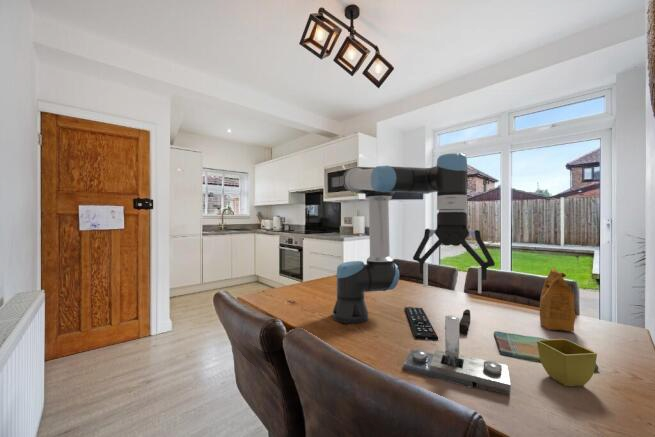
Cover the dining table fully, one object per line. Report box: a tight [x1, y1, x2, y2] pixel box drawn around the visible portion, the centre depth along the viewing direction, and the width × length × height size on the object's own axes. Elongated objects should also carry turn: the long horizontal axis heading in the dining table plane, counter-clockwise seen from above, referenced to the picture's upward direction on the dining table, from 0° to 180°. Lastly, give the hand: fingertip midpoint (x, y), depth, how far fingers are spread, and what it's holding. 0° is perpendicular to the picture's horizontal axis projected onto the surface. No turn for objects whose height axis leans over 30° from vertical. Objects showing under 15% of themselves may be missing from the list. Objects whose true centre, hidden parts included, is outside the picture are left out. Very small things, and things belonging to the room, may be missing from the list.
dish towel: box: [493, 330, 600, 372], centre depth 88 cm, size 17×23×2 cm
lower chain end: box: [403, 348, 473, 388], centre depth 78 cm, size 17×10×4 cm, turn 61°
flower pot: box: [537, 338, 598, 387], centre depth 72 cm, size 9×9×9 cm
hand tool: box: [459, 309, 471, 336], centre depth 108 cm, size 19×4×5 cm, turn 145°
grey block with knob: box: [430, 349, 511, 396], centre depth 74 cm, size 18×10×4 cm, turn 61°
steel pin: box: [444, 315, 460, 368], centre depth 76 cm, size 4×4×15 cm
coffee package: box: [539, 267, 576, 332], centre depth 107 cm, size 10×12×22 cm
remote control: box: [404, 306, 439, 341], centre depth 112 cm, size 8×32×2 cm, turn 171°
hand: (451, 288), depth 76 cm, fingers open, 13 cm apart
